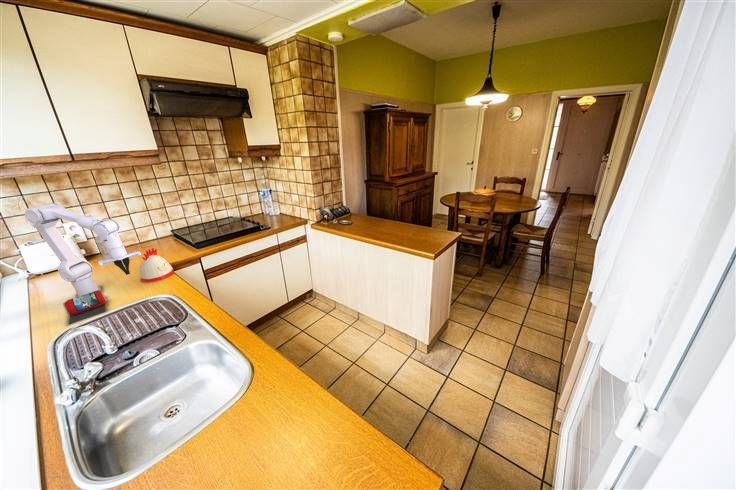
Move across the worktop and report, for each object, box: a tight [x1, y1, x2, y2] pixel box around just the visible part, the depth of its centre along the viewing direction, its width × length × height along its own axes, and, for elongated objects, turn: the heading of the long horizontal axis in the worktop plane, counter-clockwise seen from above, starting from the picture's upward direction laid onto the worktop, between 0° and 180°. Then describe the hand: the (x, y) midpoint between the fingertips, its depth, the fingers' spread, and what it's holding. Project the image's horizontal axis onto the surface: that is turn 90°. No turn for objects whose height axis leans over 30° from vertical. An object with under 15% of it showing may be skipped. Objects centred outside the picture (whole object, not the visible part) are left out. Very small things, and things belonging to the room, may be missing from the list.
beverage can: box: [62, 289, 108, 316], centre depth 115 cm, size 7×7×12 cm
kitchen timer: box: [139, 247, 175, 283], centre depth 140 cm, size 14×14×15 cm
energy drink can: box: [94, 236, 110, 259], centre depth 165 cm, size 6×6×15 cm
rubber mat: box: [68, 303, 106, 325], centre depth 116 cm, size 16×11×1 cm
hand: (127, 273), depth 123 cm, fingers closed
